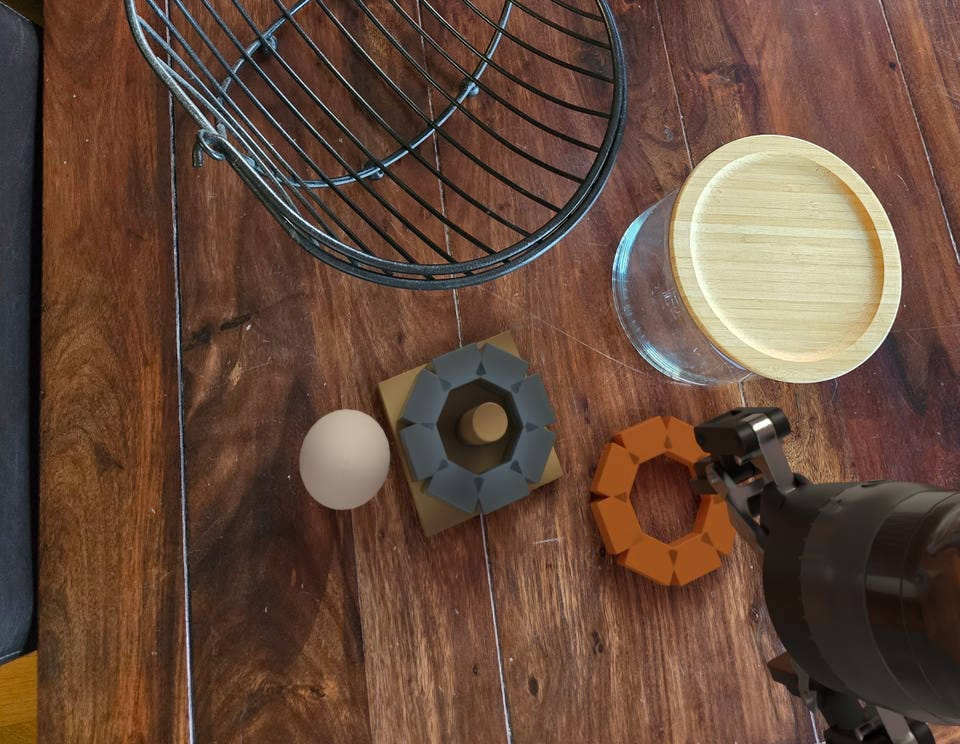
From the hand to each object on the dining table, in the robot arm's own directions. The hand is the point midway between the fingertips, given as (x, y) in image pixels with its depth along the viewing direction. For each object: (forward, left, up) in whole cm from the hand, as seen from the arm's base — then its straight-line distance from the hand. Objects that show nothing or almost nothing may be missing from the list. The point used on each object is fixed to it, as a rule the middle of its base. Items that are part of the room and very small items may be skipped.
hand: (746, 567), depth 57 cm
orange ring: (+3, -1, -15) cm, 15 cm away
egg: (+12, +17, -15) cm, 25 cm away
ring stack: (+11, +9, -15) cm, 20 cm away
